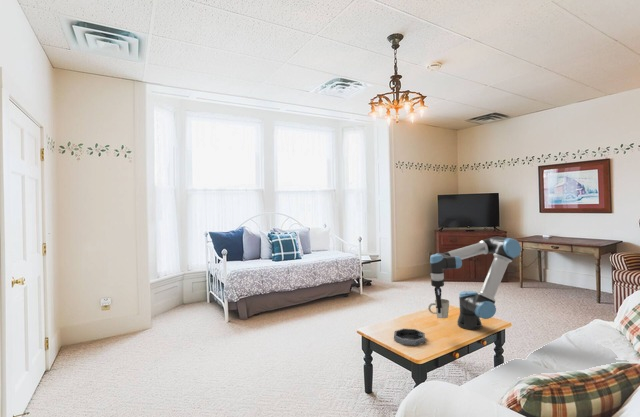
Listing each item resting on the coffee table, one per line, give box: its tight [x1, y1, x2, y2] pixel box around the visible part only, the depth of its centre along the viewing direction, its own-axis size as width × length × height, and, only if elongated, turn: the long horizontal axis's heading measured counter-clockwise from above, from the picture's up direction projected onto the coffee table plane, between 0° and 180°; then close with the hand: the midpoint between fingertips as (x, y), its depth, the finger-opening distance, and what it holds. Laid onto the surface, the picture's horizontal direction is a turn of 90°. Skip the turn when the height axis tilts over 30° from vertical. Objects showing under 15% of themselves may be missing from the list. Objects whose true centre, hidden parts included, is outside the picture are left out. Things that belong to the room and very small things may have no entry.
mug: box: [427, 298, 450, 319], centre depth 209 cm, size 8×13×10 cm, turn 79°
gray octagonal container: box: [393, 328, 426, 347], centre depth 208 cm, size 18×18×3 cm
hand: (439, 316), depth 209 cm, fingers closed on mug, 6 cm apart
